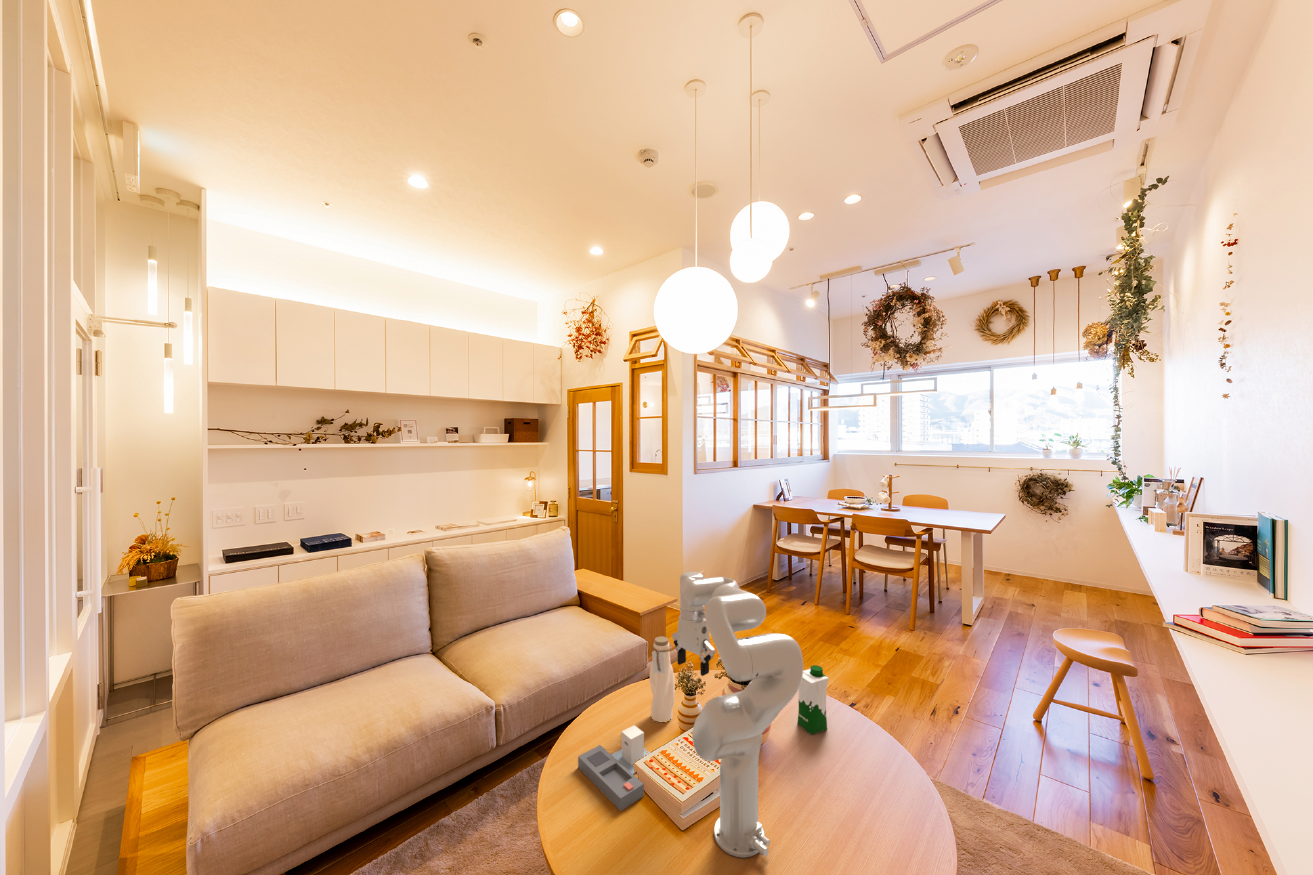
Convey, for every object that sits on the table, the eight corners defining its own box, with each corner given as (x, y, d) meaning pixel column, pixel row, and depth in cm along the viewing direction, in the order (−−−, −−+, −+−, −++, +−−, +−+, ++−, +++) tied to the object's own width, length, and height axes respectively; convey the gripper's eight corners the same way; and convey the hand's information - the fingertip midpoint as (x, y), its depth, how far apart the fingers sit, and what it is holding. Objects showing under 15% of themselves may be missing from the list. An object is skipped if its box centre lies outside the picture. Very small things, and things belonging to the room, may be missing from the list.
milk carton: (831, 730, 161) (831, 672, 161) (811, 737, 157) (810, 678, 157) (812, 716, 169) (812, 661, 169) (793, 722, 165) (793, 666, 165)
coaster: (657, 760, 146) (657, 758, 146) (629, 776, 139) (629, 775, 139) (635, 742, 155) (635, 741, 155) (608, 757, 148) (608, 756, 148)
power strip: (643, 796, 132) (643, 782, 132) (620, 811, 127) (620, 796, 127) (600, 755, 149) (599, 743, 149) (578, 767, 143) (578, 754, 143)
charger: (644, 757, 147) (643, 732, 147) (631, 765, 144) (630, 739, 143) (634, 749, 151) (634, 724, 151) (621, 756, 147) (621, 731, 147)
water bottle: (674, 726, 163) (674, 646, 163) (649, 726, 163) (648, 646, 163) (674, 709, 173) (674, 634, 173) (650, 709, 174) (649, 634, 173)
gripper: (721, 617, 142) (722, 674, 141) (680, 603, 154) (681, 655, 154) (705, 624, 136) (706, 683, 136) (664, 609, 149) (665, 663, 149)
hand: (693, 668), depth 145 cm, fingers open, 9 cm apart
